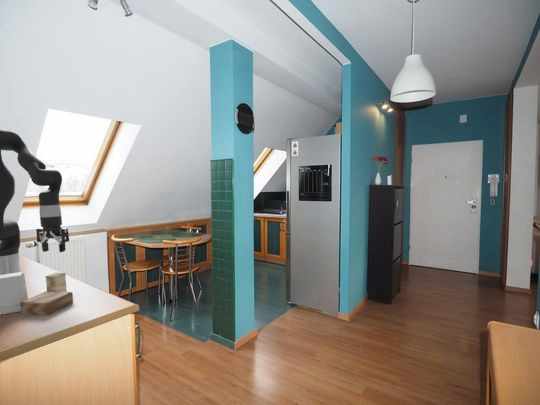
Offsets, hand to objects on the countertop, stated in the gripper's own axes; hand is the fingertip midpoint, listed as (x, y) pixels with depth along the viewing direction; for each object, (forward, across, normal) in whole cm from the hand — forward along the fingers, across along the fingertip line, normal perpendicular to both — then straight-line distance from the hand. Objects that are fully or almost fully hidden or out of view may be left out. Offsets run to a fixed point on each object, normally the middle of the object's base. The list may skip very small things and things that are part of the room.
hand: (54, 251), depth 131 cm
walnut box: (+21, +7, -11) cm, 25 cm away
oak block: (+20, 0, 0) cm, 20 cm away
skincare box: (+21, -5, -15) cm, 26 cm away
